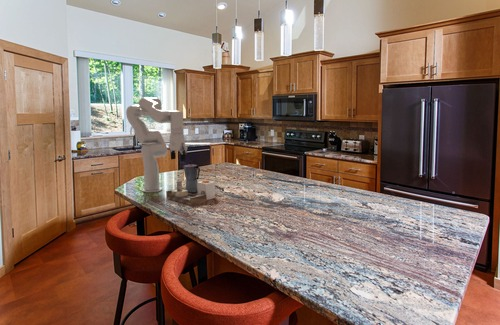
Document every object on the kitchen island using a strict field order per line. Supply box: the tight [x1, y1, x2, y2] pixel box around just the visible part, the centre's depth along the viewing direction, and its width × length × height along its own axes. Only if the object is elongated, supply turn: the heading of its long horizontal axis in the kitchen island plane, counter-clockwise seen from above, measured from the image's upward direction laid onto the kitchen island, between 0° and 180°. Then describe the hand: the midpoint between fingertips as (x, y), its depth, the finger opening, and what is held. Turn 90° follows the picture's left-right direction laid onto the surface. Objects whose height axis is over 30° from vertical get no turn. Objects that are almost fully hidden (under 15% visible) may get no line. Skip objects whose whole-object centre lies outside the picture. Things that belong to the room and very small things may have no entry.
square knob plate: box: [171, 180, 189, 197], centre depth 201 cm, size 7×7×9 cm
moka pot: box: [182, 161, 201, 193], centre depth 217 cm, size 10×15×20 cm, turn 55°
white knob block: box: [197, 180, 216, 201], centre depth 202 cm, size 8×8×10 cm
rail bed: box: [165, 188, 208, 207], centre depth 198 cm, size 24×11×4 cm, turn 49°
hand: (178, 159), depth 198 cm, fingers open, 9 cm apart
